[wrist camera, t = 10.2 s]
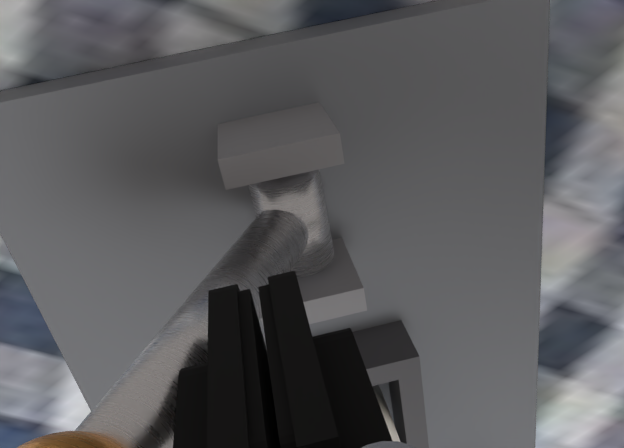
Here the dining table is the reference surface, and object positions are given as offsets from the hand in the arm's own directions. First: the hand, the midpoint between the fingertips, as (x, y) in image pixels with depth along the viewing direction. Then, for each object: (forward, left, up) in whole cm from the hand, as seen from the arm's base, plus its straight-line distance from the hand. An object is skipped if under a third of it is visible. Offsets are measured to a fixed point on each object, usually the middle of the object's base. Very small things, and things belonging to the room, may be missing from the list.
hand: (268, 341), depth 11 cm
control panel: (-1, +8, -9) cm, 12 cm away
